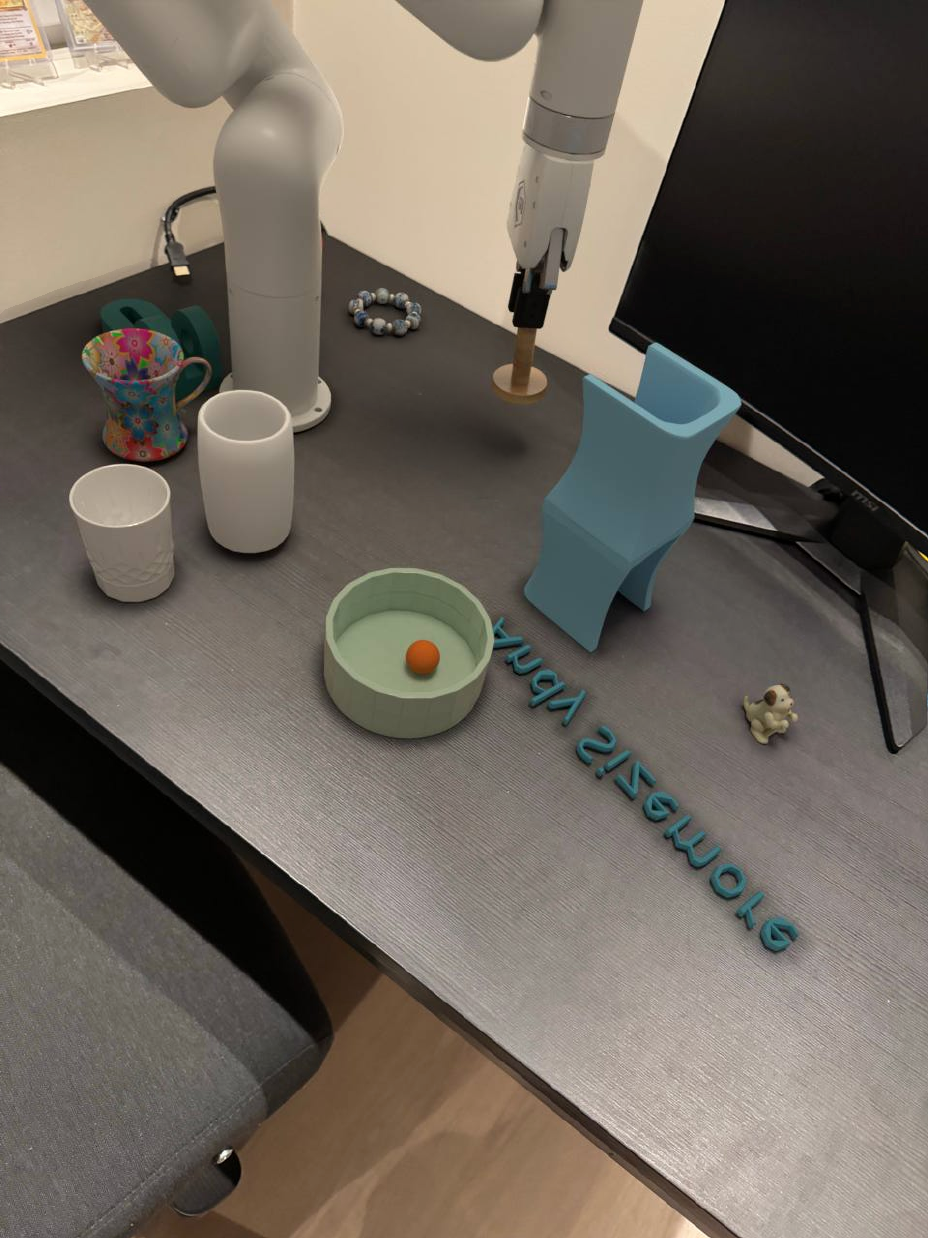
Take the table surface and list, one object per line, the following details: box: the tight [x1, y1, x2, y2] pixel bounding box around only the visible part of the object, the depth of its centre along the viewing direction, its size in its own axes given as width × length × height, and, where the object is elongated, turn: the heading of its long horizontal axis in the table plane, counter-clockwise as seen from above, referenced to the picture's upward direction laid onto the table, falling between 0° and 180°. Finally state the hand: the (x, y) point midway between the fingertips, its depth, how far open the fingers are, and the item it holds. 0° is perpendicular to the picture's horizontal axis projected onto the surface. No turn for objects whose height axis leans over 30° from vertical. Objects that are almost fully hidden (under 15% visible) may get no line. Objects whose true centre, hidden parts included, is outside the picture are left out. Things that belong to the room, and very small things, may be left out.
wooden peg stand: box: [491, 270, 548, 406], centre depth 88 cm, size 6×6×14 cm
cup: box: [197, 390, 295, 554], centre depth 78 cm, size 8×8×14 cm
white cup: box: [68, 463, 175, 603], centre depth 74 cm, size 8×8×10 cm
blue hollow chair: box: [523, 342, 742, 653], centre depth 76 cm, size 10×10×25 cm
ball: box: [406, 640, 440, 674], centre depth 74 cm, size 3×3×3 cm
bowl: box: [323, 567, 495, 739], centre depth 73 cm, size 14×14×6 cm
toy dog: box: [742, 683, 799, 745], centre depth 76 cm, size 4×5×5 cm
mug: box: [81, 329, 211, 463], centre depth 86 cm, size 12×9×11 cm
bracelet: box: [347, 287, 422, 336], centre depth 113 cm, size 10×10×2 cm
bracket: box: [99, 298, 224, 402], centre depth 97 cm, size 18×7×8 cm, turn 42°
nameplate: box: [492, 616, 800, 952], centre depth 72 cm, size 37×1×5 cm
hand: (525, 317), depth 87 cm, fingers closed on wooden peg stand
